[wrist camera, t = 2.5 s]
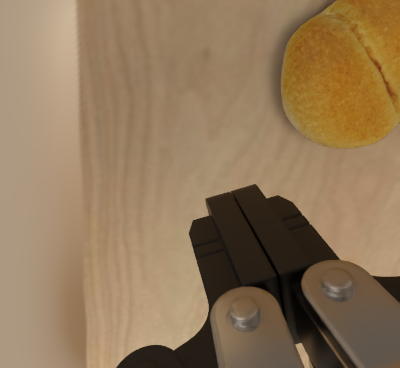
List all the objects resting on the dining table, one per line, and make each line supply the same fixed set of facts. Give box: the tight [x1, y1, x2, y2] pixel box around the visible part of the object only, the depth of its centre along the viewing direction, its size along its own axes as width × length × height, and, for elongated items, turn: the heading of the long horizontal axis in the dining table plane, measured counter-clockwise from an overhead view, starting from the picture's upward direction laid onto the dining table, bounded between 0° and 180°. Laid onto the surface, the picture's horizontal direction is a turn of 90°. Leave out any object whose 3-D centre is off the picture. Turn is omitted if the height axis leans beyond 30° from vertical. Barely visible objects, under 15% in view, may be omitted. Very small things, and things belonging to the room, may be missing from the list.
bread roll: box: [281, 0, 400, 149], centre depth 18 cm, size 8×9×4 cm
